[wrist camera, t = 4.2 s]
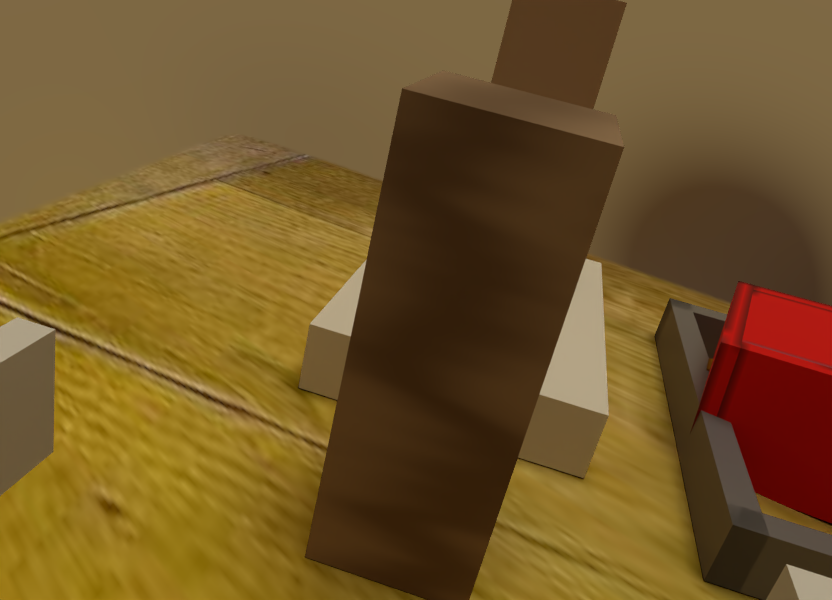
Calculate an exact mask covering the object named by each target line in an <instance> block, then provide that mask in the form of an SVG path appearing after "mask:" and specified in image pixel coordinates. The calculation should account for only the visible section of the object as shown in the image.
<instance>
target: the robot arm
mask: <svg viewBox="0 0 832 600" xmlns="http://www.w3.org/2000/svg"><path fill="white" fill-rule="evenodd" d="M54 375H55V329H52V328H49V327H46V326H43V325H40V324H36V323H33V322H30V321H27V320H24V319H21V318H18V317H17V318H16V319H14V320H12V321H10V322H8V323H6V324H5V325H3V326H1V327H0V496H1V495H2V494H3V493H4V492H5V491H7V490H8V489H9V488H10V487H11V486H13V485H14V484H15V483H16V482H17V481H19V480H20V479H21V478H22V477H23V476H25V475H26V474H27V473H28V472H29V471H31V470H32V469H33V468H34V467H35V466H37V465H38V464H39V463H40V462H41V461H43V460H44V459H45V458H46V457H47V456H49V455H50V454H51V453H52V452H53V434H54ZM766 600H832V579H831V578H828V577H825V576H822V575H819V574H816V573H813V572H810V571H807V570H803V569H800V568H797V567H794V566H791V565H788V564H786V566H785V567H784V569H783V571H782V573H781V574H780V576H779V578H778V580H777V581H776V583H775V585H774V587H773V588H772V590H771V592H770V594H769V595H768V597H767V599H766Z"/></svg>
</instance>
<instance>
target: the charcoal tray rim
mask: <svg viewBox="0 0 832 600" xmlns="http://www.w3.org/2000/svg"><path fill="white" fill-rule="evenodd" d="M726 317H727V314H723V313H720V312H716V311H713V310H709V309H706V308H702V307H699V306H695V305H692V304H688V303H685V302H681V301H678V300H674V299H671V298H670V299H669V301H668V304H667V306H666V309H665V311H664V314H663V316H662V319H661V321H660V324H659V326H658V329H657V331H656V334H655V340H656V344H657V349H658V354H659V359H660V364H661V369H662V374H663V379H664V384H665V389H666V394H667V399H668V404H669V409H670V414H671V419H672V424H673V429H674V434H675V439H676V444H677V449H678V454H679V459H680V464H681V469H682V474H683V479H684V484H685V489H686V494H687V499H688V504H689V509H690V514H691V519H692V524H693V529H694V534H695V539H696V544H697V549H698V554H699V559H700V564H701V569H702V573H703V578H704V581H707V582H710V583H713V584H716V585H719V586H722V587H725V588H728V589H731V590H734V591H737V592H740V593H744V594H747V595H750V596H753V597H756V598H759V599H762V600H766V599H767V597H768V595H769V594H770V592H771V590H772V588H773V587H774V585H775V583H776V581H777V580H778V578H779V576H780V574H781V573H782V571H783V569H784V567H785V566H786V564H788V565H791V566H794V567H797V568H800V569H803V570H807V571H810V572H813V573H816V574H819V575H822V576H825V577H828V578H831V579H832V535H830V534H827V533H824V532H820V531H817V530H814V529H811V528H808V527H805V526H801V525H798V524H795V523H792V522H789V521H785V520H782V519H779V518H776V517H773V516H770V515H766V514H763V513H762V512H761V509H760V506H759V503H758V500H757V497H756V494H755V492H754V489H753V486H752V483H751V480H750V477H749V474H748V471H747V468H746V465H745V462H744V459H743V456H742V454H741V451H740V448H739V445H738V442H737V439H736V436H735V433H734V430H733V427H732V424H731V422H728V421H726V420H723V419H721V418H719V417H716V416H714V415H711V414H709V413H707V412H704V411H702V410H701V411H700V413H699V415H698V418H697V420H696V422H695V424H694V426H693V423H694V420H695V417H696V414H697V411H698V408H699V405H700V401H701V398H702V395H703V391H704V388H705V385H706V381H707V378H708V375H709V371H707V364H708V359H709V358H711V359H713V356H714V353H715V350H716V347H717V344H718V341H719V338H720V335H721V332H722V329H723V326H724V323H725V320H726ZM692 426H693V428H692ZM691 429H692V431H691ZM690 432H691V433H690Z"/></svg>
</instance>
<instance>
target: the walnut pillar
mask: <svg viewBox="0 0 832 600" xmlns="http://www.w3.org/2000/svg"><path fill="white" fill-rule="evenodd" d="M623 149H624V145H623V141H622V137H621V133H620V129H619V125H618V121H617V117H616V115H613V114H609V113H605V112H601V111H597V110H593V109H590V108H586V107H582V106H578V105H574V104H570V103H567V102H563V101H559V100H555V99H551V98H547V97H543V96H540V95H536V94H532V93H528V92H524V91H520V90H517V89H513V88H509V87H505V86H501V85H497V84H493V83H489V82H485V81H482V80H478V79H474V78H470V77H467V76H462V75H459V74H454V73H451V72H447V71H441V72H439V73H436V74H434V75H432V76H429V77H427V78H425V79H422V80H420V81H418V82H416V83H414V84H411V85H409V86H406V87H404V88H402V93H401V97H400V102H399V106H398V111H397V116H396V121H395V126H394V131H393V135H392V140H391V145H390V150H389V155H388V160H387V165H386V169H385V174H384V179H383V183H382V188H381V193H380V198H379V203H378V208H377V212H376V217H375V222H374V227H373V232H372V236H371V241H370V246H369V251H368V256H367V261H366V265H365V270H364V275H363V280H362V285H361V290H360V294H359V299H358V304H357V309H356V314H355V318H354V323H353V328H352V333H351V338H350V343H349V347H348V352H347V357H346V362H345V367H344V371H343V376H342V381H341V386H340V391H339V396H338V400H337V405H336V410H335V415H334V420H333V424H332V429H331V434H330V439H329V444H328V449H327V453H326V458H325V463H324V468H323V473H322V477H321V482H320V487H319V492H318V497H317V502H316V506H315V511H314V516H313V521H312V526H311V530H310V535H309V540H308V545H307V550H306V555H305V557H306V558H309V559H312V560H315V561H318V562H321V563H324V564H327V565H329V566H332V567H335V568H338V569H341V570H344V571H347V572H350V573H353V574H355V575H358V576H361V577H364V578H367V579H370V580H373V581H376V582H379V583H382V584H384V585H387V586H390V587H393V588H396V589H399V590H402V591H405V592H408V593H410V594H413V595H416V596H419V597H422V598H425V599H428V600H469V599H470V596H471V593H472V590H473V587H474V584H475V581H476V578H477V575H478V572H479V569H480V566H481V564H482V561H483V558H484V555H485V552H486V549H487V546H488V543H489V540H490V537H491V534H492V531H493V528H494V526H495V523H496V520H497V517H498V514H499V511H500V508H501V505H502V502H503V499H504V496H505V493H506V491H507V488H508V485H509V482H510V479H511V476H512V473H513V470H514V467H515V464H516V461H517V458H518V455H519V453H520V450H521V447H522V444H523V441H524V438H525V435H526V432H527V429H528V426H529V423H530V420H531V417H532V415H533V412H534V409H535V406H536V403H537V400H538V397H539V394H540V391H541V388H542V385H543V382H544V380H545V377H546V374H547V371H548V368H549V365H550V362H551V359H552V356H553V353H554V350H555V347H556V344H557V342H558V339H559V336H560V333H561V330H562V327H563V324H564V321H565V318H566V315H567V312H568V309H569V307H570V304H571V301H572V298H573V295H574V292H575V289H576V286H577V283H578V280H579V277H580V274H581V271H582V269H583V266H584V263H585V260H586V257H587V254H588V251H589V248H590V245H591V242H592V239H593V236H594V233H595V230H596V227H597V225H598V222H599V219H600V216H601V213H602V210H603V207H604V204H605V201H606V198H607V195H608V193H609V190H610V187H611V184H612V181H613V178H614V175H615V172H616V169H617V166H618V163H619V160H620V158H621V155H622V152H623Z"/></svg>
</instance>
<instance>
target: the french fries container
mask: <svg viewBox="0 0 832 600" xmlns="http://www.w3.org/2000/svg"><path fill="white" fill-rule="evenodd" d="M707 371H709V375H708V378H707V381H706V385H705V388H704V391H703V395H702V398H701V401H700V405H699V408H698V411H697V414H696V417H695V420H694V423H693V426H694V424H695V422H696V420H697V418H698V415H699V413H700V411H701V410H702V411H704V412H707V413H709V414H711V415H714V416H716V417H719V418H721V419H723V420H726V421H728V422H731V424H732V427H733V430H734V433H735V436H736V439H737V442H738V445H739V448H740V451H741V454H742V456H743V459H744V462H745V465H746V468H747V471H748V474H749V477H750V480H751V483H752V486H753V489H754V492H755V493H758V494H760V495H762V496H764V497H767V498H769V499H771V500H773V501H776V502H778V503H780V504H782V505H785V506H787V507H789V508H792V509H794V510H797V511H800V512H802V513H805V514H808V515H810V516H813V517H816V518H819V519H821V520H824V521H827V522H829V523H832V306H830V305H826V304H822V303H819V302H815V301H811V300H807V299H803V298H800V297H796V296H792V295H789V294H785V293H781V292H778V291H774V290H770V289H766V288H762V287H759V286H755V285H751V284H748V283H744V282H740V281H738V284H737V287H736V290H735V293H734V296H733V299H732V302H731V305H730V308H729V311H728V314H727V317H726V320H725V323H724V326H723V329H722V332H721V335H720V338H719V341H718V344H717V347H716V350H715V353H714V356H713V359H711V358H709V359H708V364H707ZM693 426H692V428H693ZM691 431H692V429H691ZM690 433H691V432H690Z"/></svg>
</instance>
